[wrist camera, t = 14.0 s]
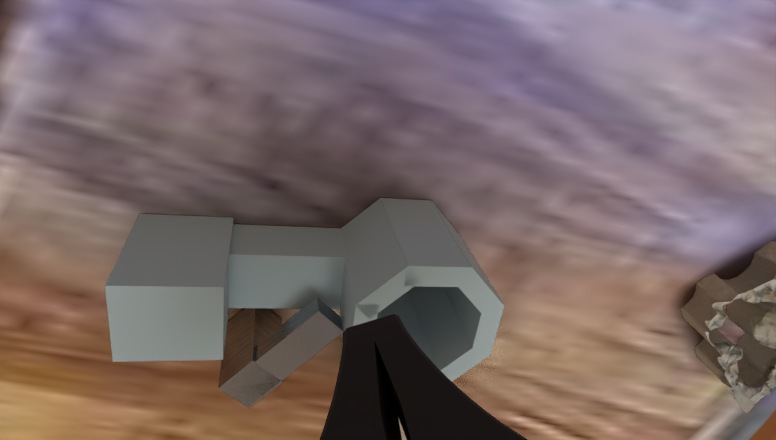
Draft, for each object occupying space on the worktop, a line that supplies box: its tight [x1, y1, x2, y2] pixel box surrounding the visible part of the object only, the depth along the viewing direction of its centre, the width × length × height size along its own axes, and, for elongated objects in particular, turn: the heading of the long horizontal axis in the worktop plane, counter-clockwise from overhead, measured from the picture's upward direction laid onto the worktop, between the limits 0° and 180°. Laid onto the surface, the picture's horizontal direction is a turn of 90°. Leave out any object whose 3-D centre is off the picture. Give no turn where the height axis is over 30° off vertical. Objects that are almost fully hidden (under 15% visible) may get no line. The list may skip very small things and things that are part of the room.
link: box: [105, 198, 505, 382], centre depth 21 cm, size 13×5×5 cm, turn 82°
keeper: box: [218, 297, 344, 408], centre depth 22 cm, size 2×5×4 cm, turn 128°
